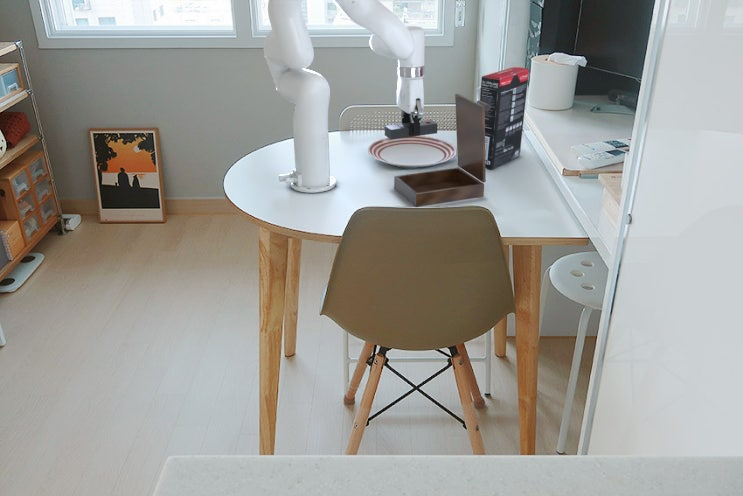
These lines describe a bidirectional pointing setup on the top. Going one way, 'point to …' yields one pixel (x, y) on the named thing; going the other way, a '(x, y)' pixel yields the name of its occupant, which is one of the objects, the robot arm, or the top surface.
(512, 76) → the graphics card box
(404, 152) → the dinner plate
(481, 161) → the lid
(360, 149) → the top surface
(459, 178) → the box
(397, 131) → the block
